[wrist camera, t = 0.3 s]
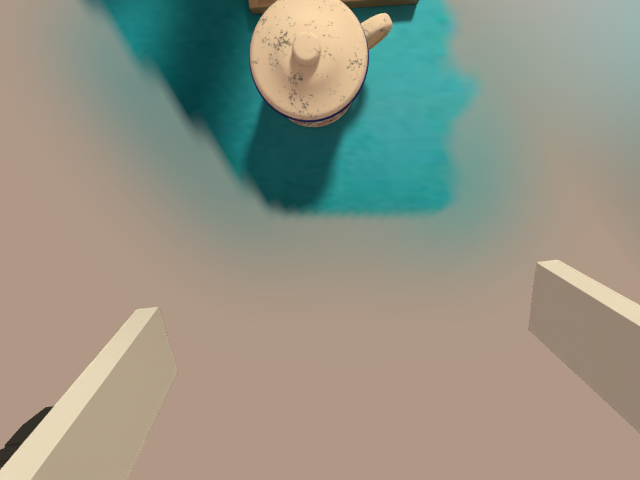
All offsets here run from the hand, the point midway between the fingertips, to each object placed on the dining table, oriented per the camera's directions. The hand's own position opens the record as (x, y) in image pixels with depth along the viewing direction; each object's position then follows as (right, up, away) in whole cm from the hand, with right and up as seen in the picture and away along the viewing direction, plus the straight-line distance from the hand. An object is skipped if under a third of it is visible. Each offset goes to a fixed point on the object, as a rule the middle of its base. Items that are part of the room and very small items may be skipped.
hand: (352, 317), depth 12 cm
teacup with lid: (-1, +19, +22) cm, 29 cm away
